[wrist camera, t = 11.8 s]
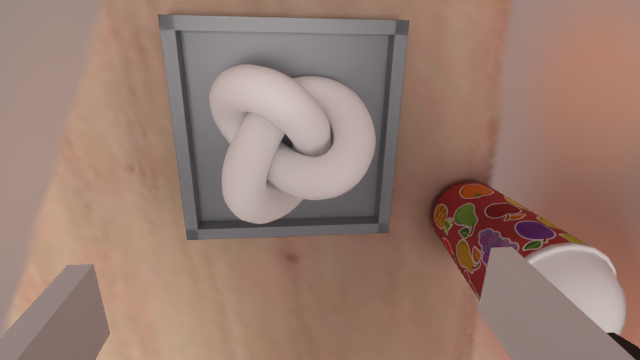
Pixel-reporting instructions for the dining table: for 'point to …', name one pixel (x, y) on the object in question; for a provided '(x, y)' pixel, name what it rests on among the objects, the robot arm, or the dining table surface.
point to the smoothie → (527, 250)
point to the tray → (294, 61)
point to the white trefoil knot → (301, 128)
